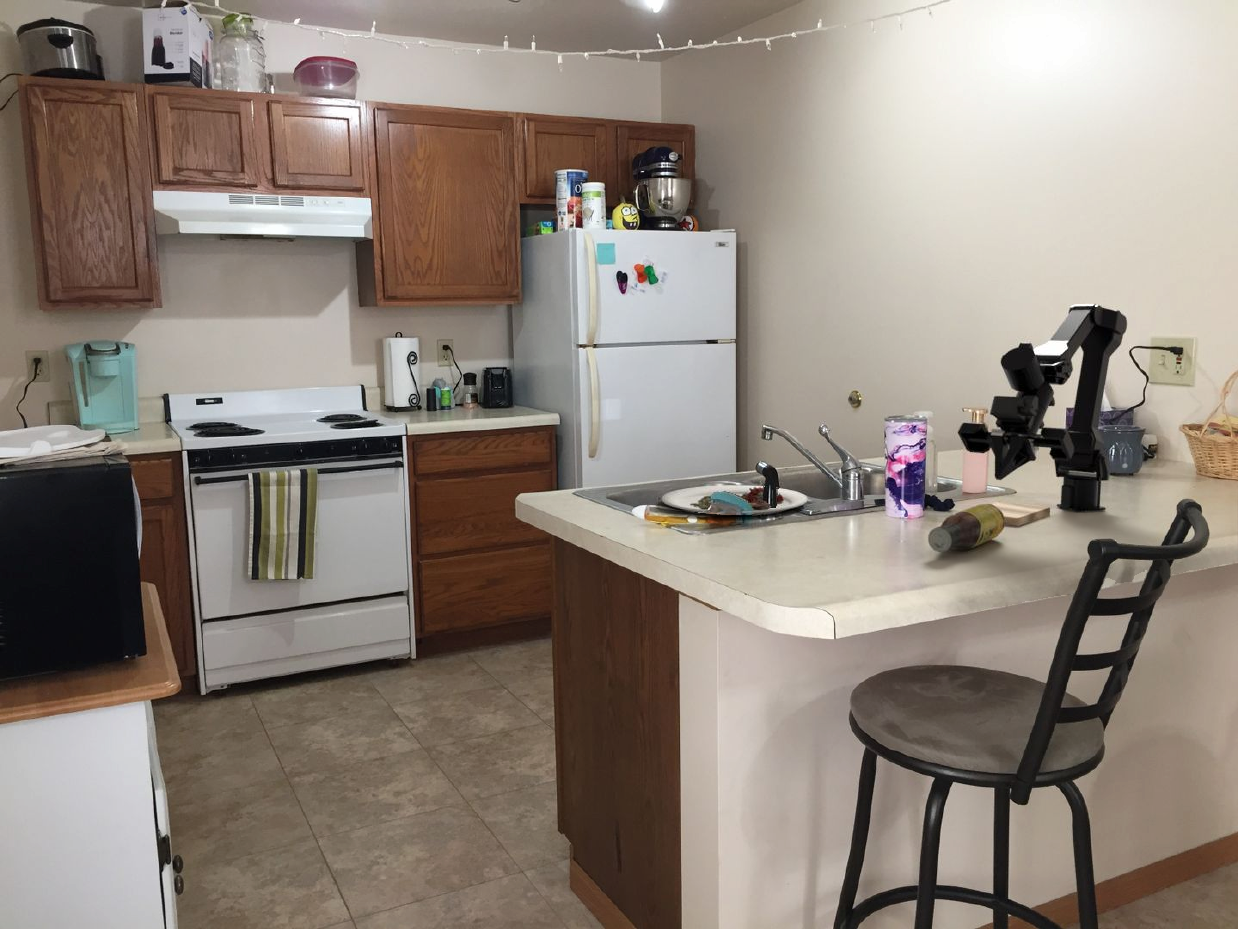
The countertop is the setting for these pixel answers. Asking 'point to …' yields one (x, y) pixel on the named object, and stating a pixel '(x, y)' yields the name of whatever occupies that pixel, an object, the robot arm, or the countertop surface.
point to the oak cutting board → (1021, 512)
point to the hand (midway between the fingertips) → (997, 478)
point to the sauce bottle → (967, 528)
